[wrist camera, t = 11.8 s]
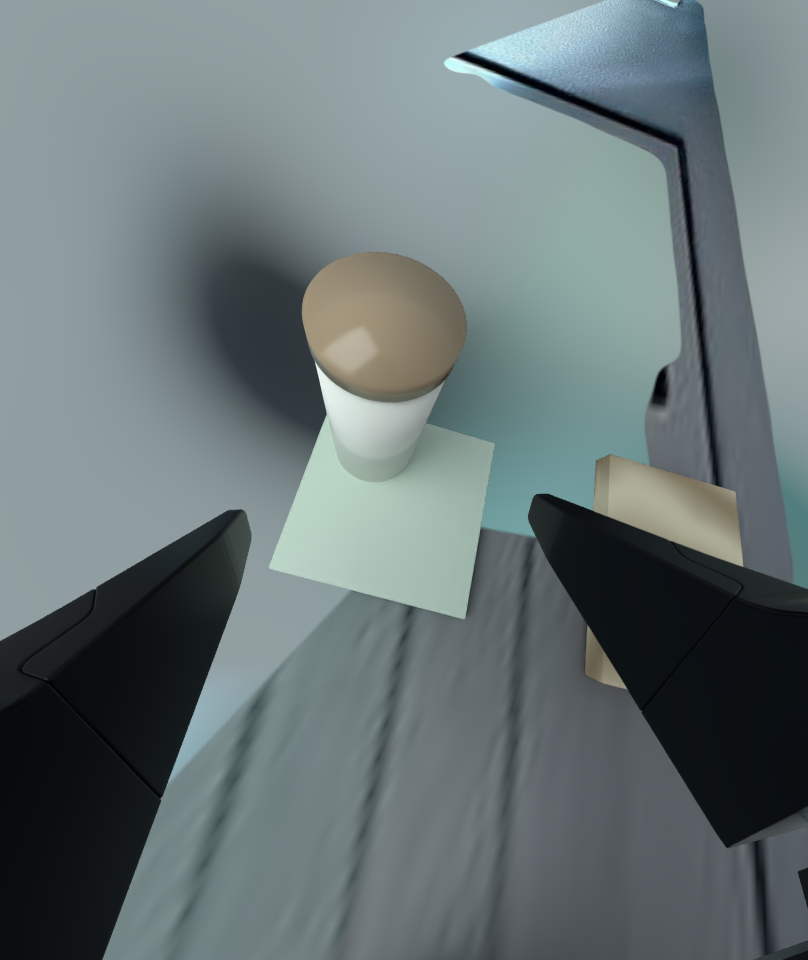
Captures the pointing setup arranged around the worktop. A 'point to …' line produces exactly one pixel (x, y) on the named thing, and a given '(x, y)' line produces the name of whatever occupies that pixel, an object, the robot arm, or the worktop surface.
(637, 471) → the board
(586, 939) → the worktop surface
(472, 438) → the mat
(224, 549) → the robot arm
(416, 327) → the jar
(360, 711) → the worktop surface
